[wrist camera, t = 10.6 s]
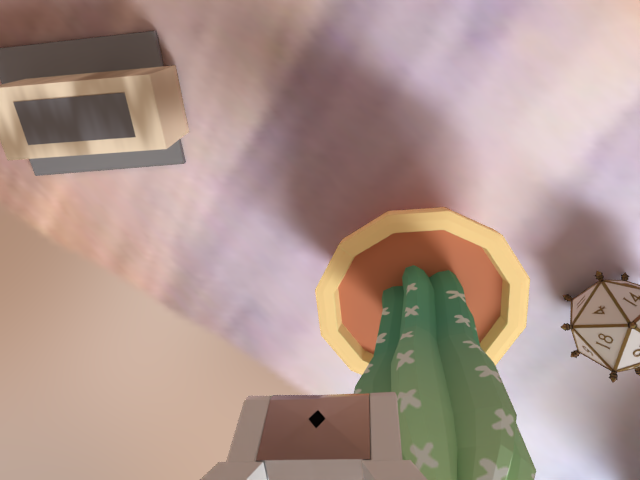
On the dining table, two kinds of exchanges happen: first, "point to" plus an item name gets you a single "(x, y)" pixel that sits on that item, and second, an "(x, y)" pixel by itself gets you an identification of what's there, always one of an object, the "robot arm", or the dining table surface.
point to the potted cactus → (433, 336)
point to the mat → (81, 60)
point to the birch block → (92, 113)
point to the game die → (607, 324)
